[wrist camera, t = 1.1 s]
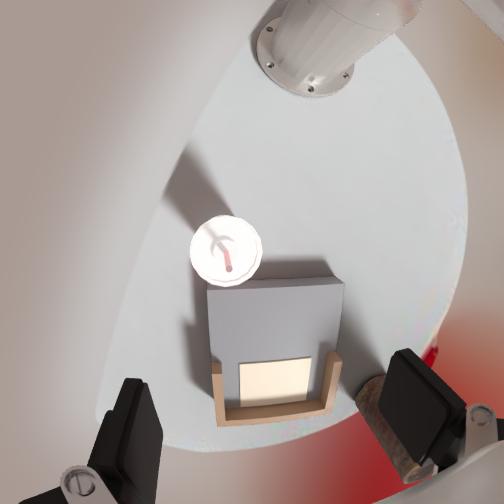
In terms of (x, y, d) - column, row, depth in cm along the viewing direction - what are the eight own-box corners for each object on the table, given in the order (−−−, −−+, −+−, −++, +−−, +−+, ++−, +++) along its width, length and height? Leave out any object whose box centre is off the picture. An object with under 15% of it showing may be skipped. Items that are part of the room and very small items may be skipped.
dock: (207, 281, 33) (206, 298, 28) (335, 276, 35) (353, 290, 30) (216, 400, 38) (217, 426, 32) (319, 390, 40) (331, 413, 34)
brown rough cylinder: (370, 409, 43) (421, 484, 23) (343, 402, 41) (395, 489, 22) (396, 377, 42) (459, 449, 22) (371, 368, 40) (438, 450, 21)
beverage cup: (251, 208, 32) (277, 224, 19) (248, 261, 33) (271, 310, 20) (196, 207, 31) (182, 222, 18) (196, 260, 33) (184, 310, 19)
